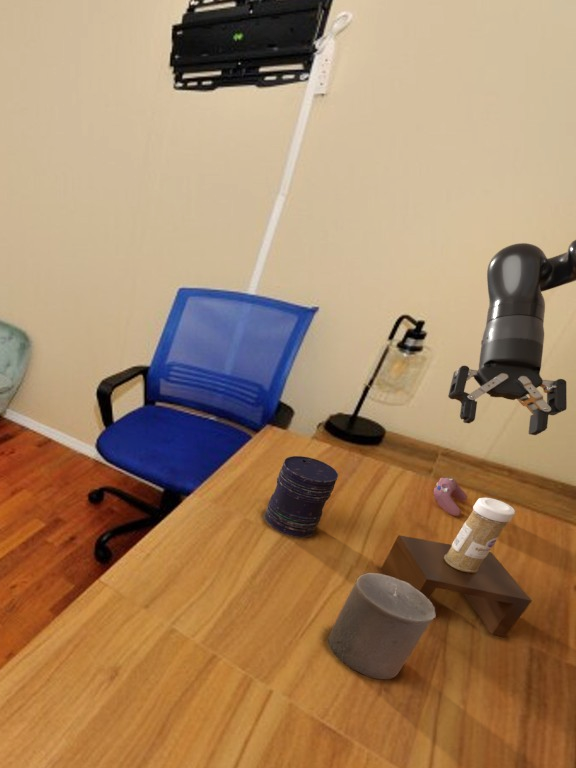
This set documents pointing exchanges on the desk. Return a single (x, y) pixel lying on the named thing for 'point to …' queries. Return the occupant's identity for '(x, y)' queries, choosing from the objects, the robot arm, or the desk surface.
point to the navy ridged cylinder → (300, 496)
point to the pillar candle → (380, 625)
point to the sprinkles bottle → (478, 534)
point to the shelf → (459, 581)
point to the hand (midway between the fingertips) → (501, 427)
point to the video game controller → (449, 495)
